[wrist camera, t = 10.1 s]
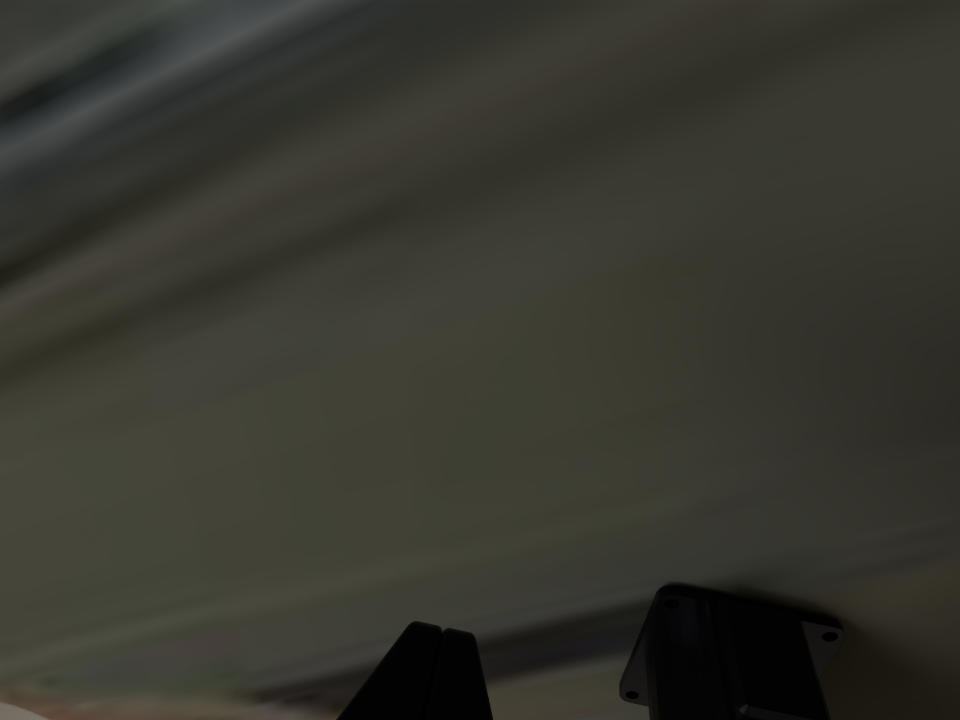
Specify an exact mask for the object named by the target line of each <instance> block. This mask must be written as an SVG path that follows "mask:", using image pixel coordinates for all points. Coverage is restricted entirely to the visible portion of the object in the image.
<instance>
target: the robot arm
mask: <svg viewBox="0 0 960 720" xmlns="http://www.w3.org/2000/svg"><path fill="white" fill-rule="evenodd" d="M669 599H674V600H669ZM845 637H846V636H845V633H844V630H843V627H842V624H841V622H839V621H838V620H837V619H834V618H830V617H825V616H820V615H815V614H810V613H805V612H800V611H796V610H791V609H786V608H781V607H776V606H771V605H766V604H761V603H756V602H752V601H747V600H742V599H737V598H732V597H727V596H722V595H717V594H712V593H707V592H703V591H698V590H693V589H688V588H683V587H678V586H670V585H668V586H663V587H662V588H660V589H659V590H658V591H657V593H656V595H655V597H654V600H653V602H652V605H651V607H650V610H649V612H648V615H647V617H646V619H645V622H644V624H643V627H642V629H641V632H640V634H639V637H638V639H637V642H636V644H635V646H634V649H633V651H632V654H631V656H630V659H629V661H628V664H627V666H626V668H625V671H624V673H623V676H622V678H621V681H620V683H619V692H620V697H621V699H623V700H624V701H627V702H630V703H634V704H639V705H644V706H648V707H649V718H650V720H831V719H830V715H829V712H828V709H827V706H826V702H825V699H824V696H823V692H822V689H821V686H820V682H819V677H820V676H821V674H822V673H823V671H824V670H825V668H826V667H827V665H828V664H829V662H830V661H831V659H832V658H833V656H834V655H835V653H836V652H837V650H838V649H839V647H840V646H841V644H842V643H843V641H844V640H845ZM336 720H493V717H492V712H491V707H490V703H489V698H488V693H487V688H486V684H485V679H484V674H483V669H482V664H481V660H480V655H479V650H478V645H477V641H476V638H475V636H474V635H473V634H472V633H470V632H466V631H461V630H456V629H452V628H447V629H445V630H444V631H443V633H442V629H441V627H440V626H437V625H433V624H428V623H423V622H419V621H414V622H412V623H410V624H409V625H408V626H407V627H406V629H405V630H404V631H403V633H402V634H401V635H400V637H399V638H398V639H397V641H396V642H395V643H394V645H393V646H392V647H391V648H390V650H389V651H388V652H387V654H386V655H385V656H384V658H383V659H382V660H381V662H380V663H379V664H378V665H377V667H376V668H375V669H374V671H373V672H372V673H371V675H370V676H369V677H368V679H367V680H366V681H365V683H364V684H363V685H362V686H361V688H360V689H359V690H358V692H357V693H356V694H355V696H354V697H353V698H352V700H351V701H350V702H349V704H348V705H347V706H346V707H345V709H344V710H343V711H342V713H341V714H340V715H339V717H338V718H337V719H336Z"/></svg>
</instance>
